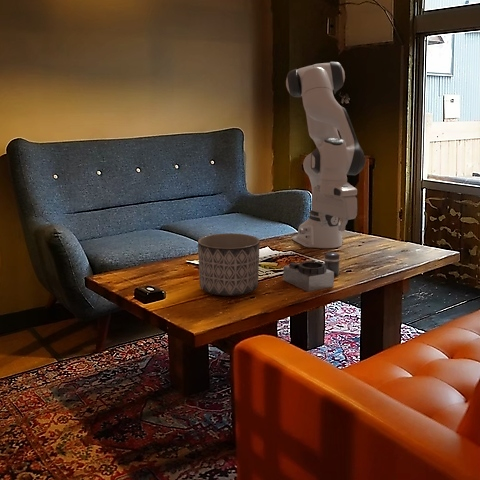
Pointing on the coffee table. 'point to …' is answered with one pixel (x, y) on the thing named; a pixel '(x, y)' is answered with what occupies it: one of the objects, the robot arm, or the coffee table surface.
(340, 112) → the robot arm
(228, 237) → the planter
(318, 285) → the camera body
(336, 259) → the lens
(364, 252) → the coffee table surface
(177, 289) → the coffee table surface
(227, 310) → the coffee table surface
